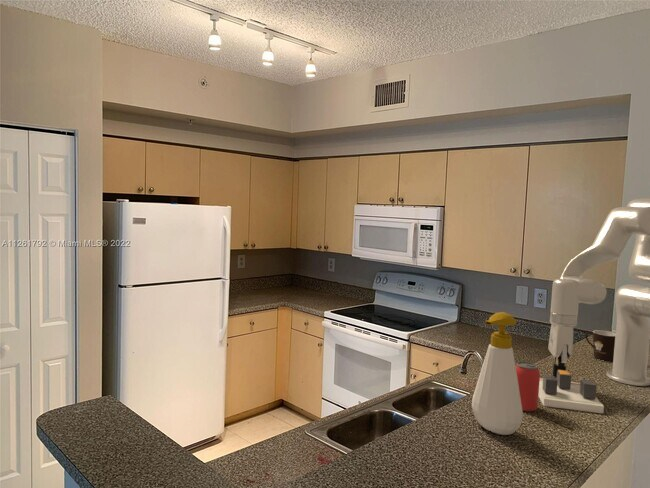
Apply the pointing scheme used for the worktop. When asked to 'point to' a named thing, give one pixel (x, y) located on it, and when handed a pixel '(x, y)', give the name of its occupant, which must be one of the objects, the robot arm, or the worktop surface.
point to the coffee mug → (603, 344)
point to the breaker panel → (570, 395)
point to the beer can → (528, 385)
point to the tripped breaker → (563, 379)
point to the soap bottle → (498, 383)
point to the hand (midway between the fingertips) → (558, 377)
